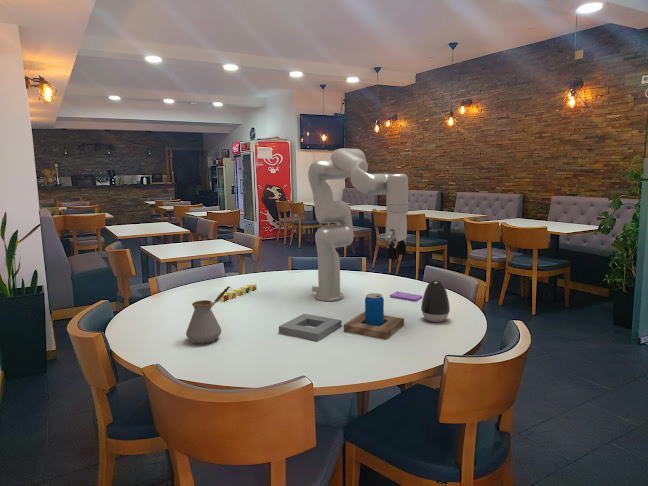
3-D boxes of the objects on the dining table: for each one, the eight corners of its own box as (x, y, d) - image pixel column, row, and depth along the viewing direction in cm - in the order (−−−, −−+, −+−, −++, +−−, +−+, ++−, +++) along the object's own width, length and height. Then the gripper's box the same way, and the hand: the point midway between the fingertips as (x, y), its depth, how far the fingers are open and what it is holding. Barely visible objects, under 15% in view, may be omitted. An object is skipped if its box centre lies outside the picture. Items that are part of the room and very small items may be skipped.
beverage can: (382, 332, 156) (382, 298, 154) (364, 331, 157) (364, 297, 155) (384, 325, 162) (384, 293, 160) (366, 324, 164) (366, 292, 162)
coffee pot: (206, 348, 144) (204, 303, 142) (178, 343, 149) (175, 299, 147) (245, 327, 163) (243, 287, 161) (219, 323, 168) (217, 284, 166)
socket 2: (343, 331, 157) (343, 324, 157) (363, 318, 171) (363, 312, 170) (386, 339, 149) (386, 332, 149) (404, 325, 162) (404, 318, 162)
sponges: (396, 295, 204) (396, 291, 204) (422, 299, 197) (422, 295, 196) (389, 298, 198) (389, 294, 198) (416, 303, 191) (416, 298, 191)
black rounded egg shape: (450, 316, 171) (451, 277, 169) (448, 325, 161) (449, 284, 159) (422, 314, 174) (423, 275, 172) (419, 323, 165) (420, 282, 162)
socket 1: (278, 333, 157) (278, 326, 156) (304, 320, 170) (304, 313, 170) (318, 341, 148) (318, 334, 148) (341, 326, 162) (341, 320, 162)
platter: (191, 301, 200) (190, 293, 200) (238, 285, 228) (238, 278, 227) (247, 310, 185) (247, 302, 184) (291, 292, 212) (291, 285, 211)
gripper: (395, 207, 169) (395, 252, 171) (378, 210, 154) (378, 260, 156) (414, 207, 165) (414, 253, 168) (399, 211, 150) (399, 261, 153)
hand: (397, 256), depth 162 cm, fingers open, 9 cm apart
